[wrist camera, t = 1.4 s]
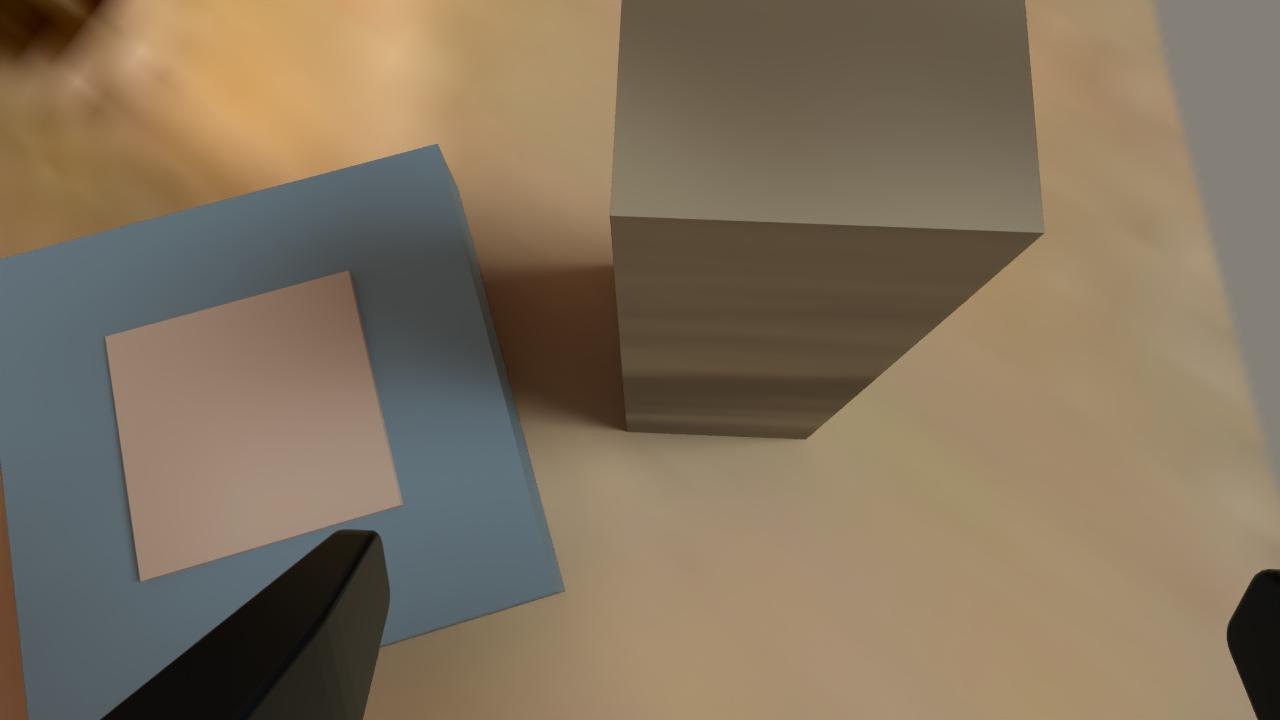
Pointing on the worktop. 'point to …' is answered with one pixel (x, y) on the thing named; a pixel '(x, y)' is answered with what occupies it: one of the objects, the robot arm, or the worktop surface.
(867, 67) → the pillar
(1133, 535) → the worktop surface
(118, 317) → the plate
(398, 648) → the worktop surface
